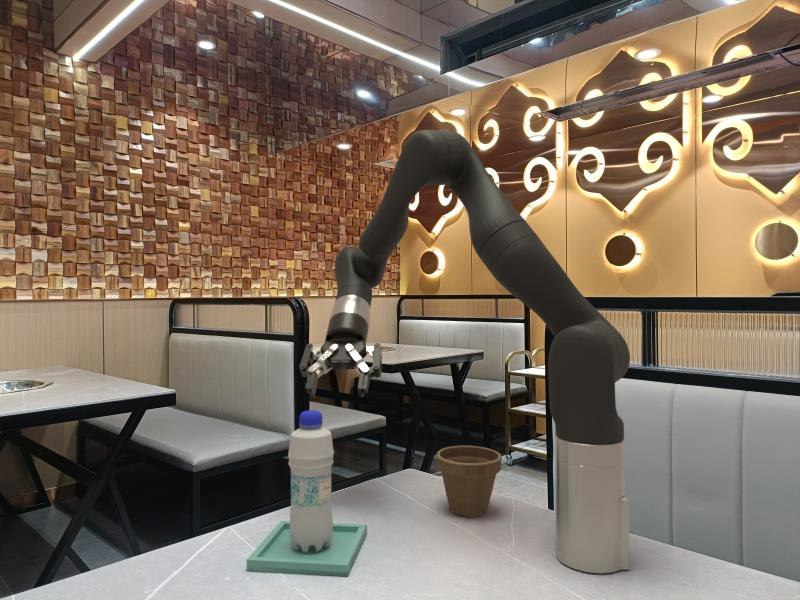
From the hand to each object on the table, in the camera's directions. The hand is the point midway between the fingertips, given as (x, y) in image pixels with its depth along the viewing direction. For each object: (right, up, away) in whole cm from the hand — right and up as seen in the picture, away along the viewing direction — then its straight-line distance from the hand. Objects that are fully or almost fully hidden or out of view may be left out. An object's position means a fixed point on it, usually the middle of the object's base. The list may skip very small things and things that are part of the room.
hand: (335, 394), depth 96 cm
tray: (-2, -21, -13) cm, 25 cm away
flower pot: (+23, -21, +3) cm, 31 cm away
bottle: (-2, -21, -12) cm, 24 cm away
